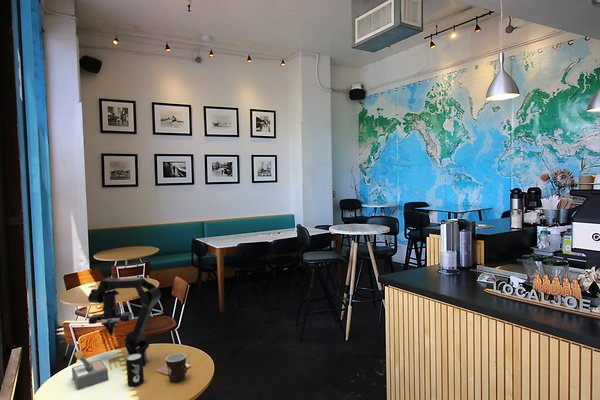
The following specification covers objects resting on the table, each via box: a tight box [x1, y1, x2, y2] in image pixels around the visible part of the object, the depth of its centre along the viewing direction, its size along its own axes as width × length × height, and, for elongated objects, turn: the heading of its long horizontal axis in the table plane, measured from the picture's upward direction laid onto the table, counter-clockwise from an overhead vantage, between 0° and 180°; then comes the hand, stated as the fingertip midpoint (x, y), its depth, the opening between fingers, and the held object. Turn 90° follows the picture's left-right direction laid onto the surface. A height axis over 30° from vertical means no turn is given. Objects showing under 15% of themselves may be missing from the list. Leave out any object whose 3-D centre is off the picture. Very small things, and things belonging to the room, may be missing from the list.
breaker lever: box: [73, 349, 93, 370], centre depth 180 cm, size 2×5×9 cm
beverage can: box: [125, 354, 145, 387], centre depth 177 cm, size 7×7×12 cm
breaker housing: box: [71, 359, 109, 391], centre depth 182 cm, size 12×13×5 cm
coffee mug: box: [165, 352, 188, 384], centre depth 177 cm, size 12×9×10 cm
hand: (111, 334), depth 199 cm, fingers closed
